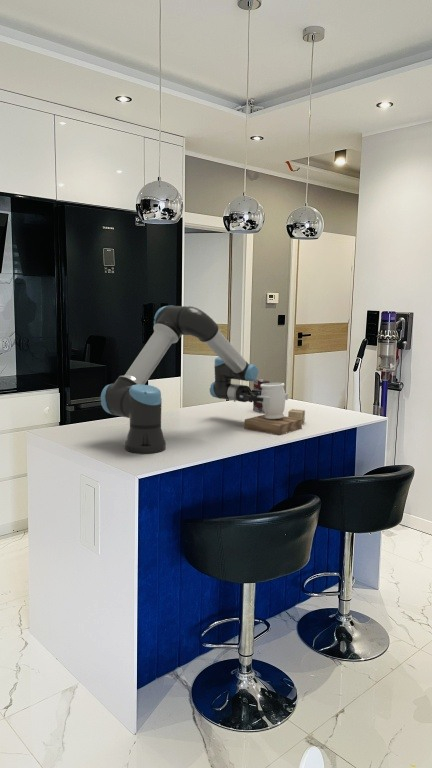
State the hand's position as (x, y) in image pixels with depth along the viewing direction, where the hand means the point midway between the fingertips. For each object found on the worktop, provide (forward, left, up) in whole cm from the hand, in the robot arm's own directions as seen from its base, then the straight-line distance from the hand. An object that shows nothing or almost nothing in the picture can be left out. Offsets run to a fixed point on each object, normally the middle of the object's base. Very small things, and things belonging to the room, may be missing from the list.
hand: (279, 398), depth 260 cm
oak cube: (+16, +1, -14) cm, 21 cm away
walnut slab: (0, +3, -14) cm, 14 cm away
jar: (+2, +3, -9) cm, 10 cm away
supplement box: (+28, +29, -14) cm, 42 cm away
